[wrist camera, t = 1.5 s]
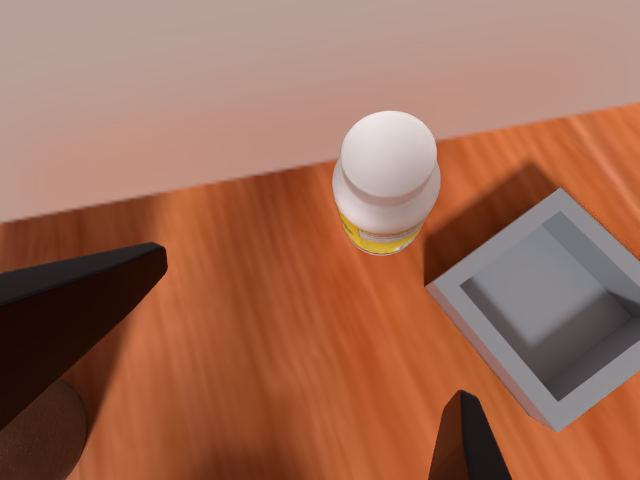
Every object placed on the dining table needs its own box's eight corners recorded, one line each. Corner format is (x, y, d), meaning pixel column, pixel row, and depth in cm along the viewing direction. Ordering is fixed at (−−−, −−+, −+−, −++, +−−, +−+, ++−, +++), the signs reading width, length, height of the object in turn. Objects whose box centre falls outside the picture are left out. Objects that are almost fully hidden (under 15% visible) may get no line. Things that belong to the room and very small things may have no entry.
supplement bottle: (344, 183, 24) (329, 95, 14) (420, 184, 23) (457, 91, 14) (339, 255, 23) (319, 210, 13) (419, 259, 22) (459, 214, 12)
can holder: (528, 415, 19) (557, 432, 16) (424, 286, 21) (432, 281, 18) (652, 321, 19) (703, 321, 16) (534, 204, 22) (560, 187, 19)
